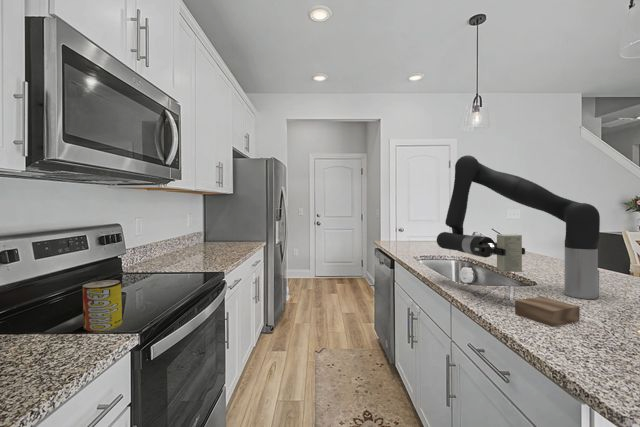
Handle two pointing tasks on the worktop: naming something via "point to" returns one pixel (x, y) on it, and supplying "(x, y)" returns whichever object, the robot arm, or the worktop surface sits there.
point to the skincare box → (510, 252)
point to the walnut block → (547, 311)
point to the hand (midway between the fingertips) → (514, 251)
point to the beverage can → (102, 305)
